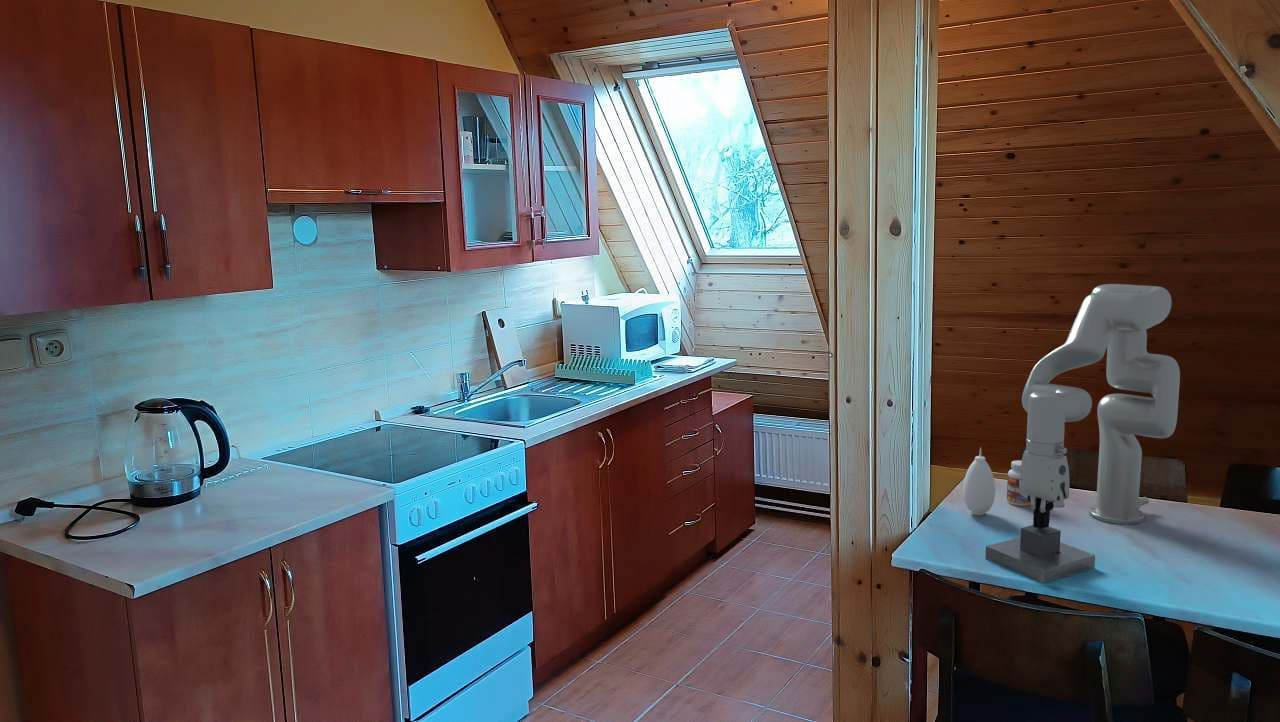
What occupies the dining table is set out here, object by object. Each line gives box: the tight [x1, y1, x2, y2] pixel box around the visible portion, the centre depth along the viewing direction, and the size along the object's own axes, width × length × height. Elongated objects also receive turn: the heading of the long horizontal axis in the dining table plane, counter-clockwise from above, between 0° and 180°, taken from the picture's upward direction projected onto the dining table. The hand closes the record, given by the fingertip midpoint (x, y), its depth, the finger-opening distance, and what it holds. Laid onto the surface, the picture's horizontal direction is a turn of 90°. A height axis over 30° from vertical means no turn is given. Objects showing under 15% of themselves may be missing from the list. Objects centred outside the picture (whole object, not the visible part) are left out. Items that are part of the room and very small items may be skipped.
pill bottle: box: [1006, 459, 1031, 507], centre depth 247 cm, size 6×6×11 cm
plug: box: [1020, 524, 1062, 557], centre depth 208 cm, size 6×6×8 cm
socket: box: [984, 536, 1096, 584], centre depth 208 cm, size 16×16×4 cm
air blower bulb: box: [962, 446, 996, 517], centre depth 239 cm, size 8×8×18 cm
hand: (1041, 526), depth 207 cm, fingers closed
